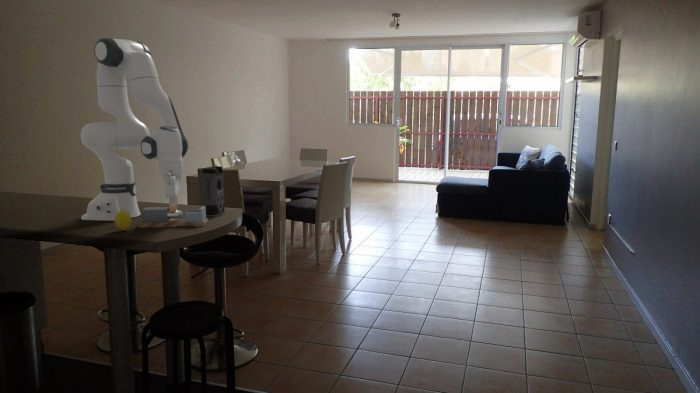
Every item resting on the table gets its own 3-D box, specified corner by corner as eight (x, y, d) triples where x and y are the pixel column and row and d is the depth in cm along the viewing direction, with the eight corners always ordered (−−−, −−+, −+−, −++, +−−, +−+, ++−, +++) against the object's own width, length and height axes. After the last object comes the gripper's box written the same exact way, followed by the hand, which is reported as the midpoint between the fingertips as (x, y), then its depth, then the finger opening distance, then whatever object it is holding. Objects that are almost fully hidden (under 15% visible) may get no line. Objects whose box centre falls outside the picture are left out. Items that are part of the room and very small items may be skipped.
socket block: (185, 222, 204) (184, 209, 203) (189, 218, 210) (188, 206, 209) (202, 221, 204) (202, 209, 204) (206, 218, 210) (205, 206, 209)
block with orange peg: (143, 219, 204) (142, 199, 202) (146, 217, 208) (145, 197, 206) (180, 219, 205) (179, 198, 203) (183, 217, 209) (182, 196, 207)
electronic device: (216, 217, 220) (214, 168, 217) (203, 216, 221) (200, 168, 218) (226, 212, 229) (223, 166, 226) (213, 212, 230) (210, 166, 227)
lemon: (118, 229, 200) (117, 208, 198) (134, 228, 200) (132, 207, 199) (113, 232, 194) (111, 211, 193) (129, 232, 195) (127, 210, 193)
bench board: (139, 227, 202) (139, 223, 202) (146, 222, 210) (145, 219, 210) (203, 226, 204) (203, 222, 203) (208, 221, 212) (207, 218, 211)
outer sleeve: (143, 222, 204) (142, 209, 203) (147, 219, 208) (146, 207, 208) (167, 222, 204) (166, 209, 203) (170, 219, 209) (170, 206, 208)
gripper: (178, 172, 194) (180, 209, 196) (181, 166, 214) (183, 200, 216) (159, 173, 193) (162, 210, 195) (165, 166, 212) (167, 201, 215)
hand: (173, 205), depth 206 cm, fingers closed on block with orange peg, 4 cm apart
